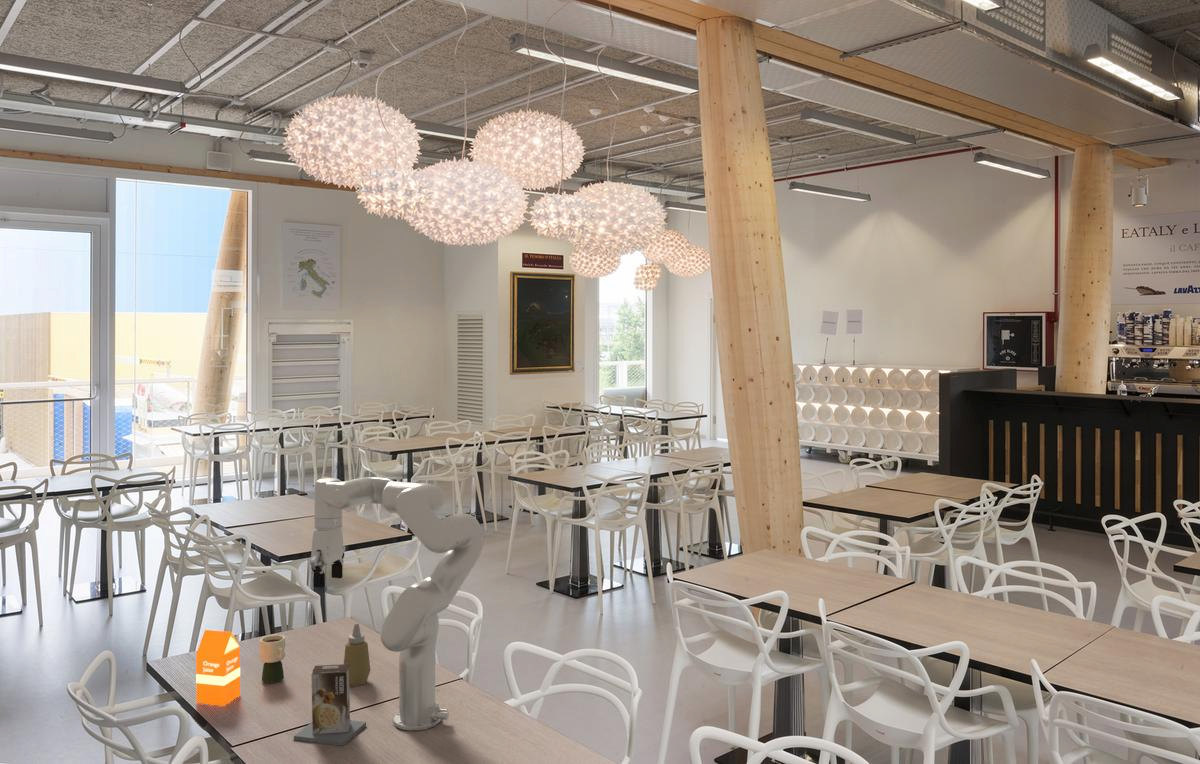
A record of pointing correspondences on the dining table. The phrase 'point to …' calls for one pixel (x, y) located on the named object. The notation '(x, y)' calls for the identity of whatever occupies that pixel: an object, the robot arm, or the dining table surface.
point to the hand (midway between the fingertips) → (328, 582)
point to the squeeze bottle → (357, 657)
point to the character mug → (272, 657)
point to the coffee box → (330, 699)
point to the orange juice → (218, 668)
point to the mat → (330, 734)
